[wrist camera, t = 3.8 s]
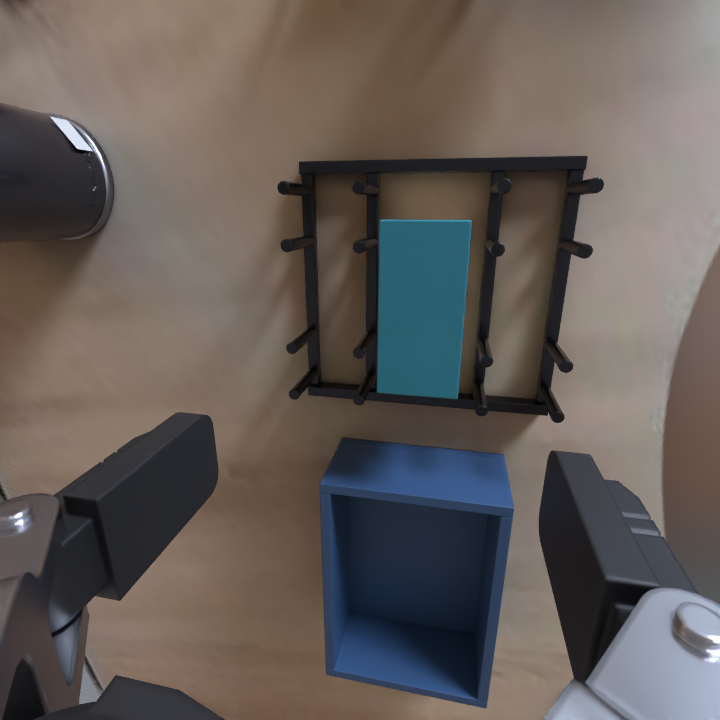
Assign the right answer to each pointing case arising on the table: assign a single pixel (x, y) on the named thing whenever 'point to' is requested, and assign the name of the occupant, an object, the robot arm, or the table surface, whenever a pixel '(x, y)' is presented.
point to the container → (421, 306)
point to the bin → (414, 566)
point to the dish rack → (492, 250)
